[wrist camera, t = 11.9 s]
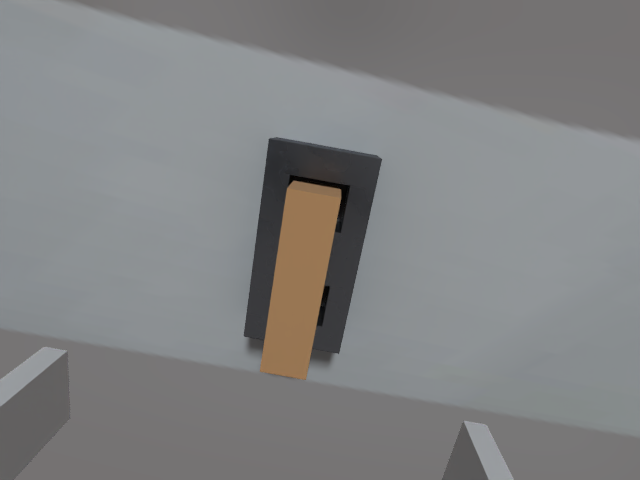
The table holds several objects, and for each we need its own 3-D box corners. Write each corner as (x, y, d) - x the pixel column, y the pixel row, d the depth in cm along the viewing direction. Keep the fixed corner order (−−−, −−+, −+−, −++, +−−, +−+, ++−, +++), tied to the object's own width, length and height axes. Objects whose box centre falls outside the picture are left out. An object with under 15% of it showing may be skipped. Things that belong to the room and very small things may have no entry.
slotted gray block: (339, 331, 34) (338, 353, 30) (253, 315, 34) (243, 336, 30) (377, 155, 29) (381, 159, 26) (277, 137, 29) (269, 138, 26)
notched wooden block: (315, 307, 33) (305, 380, 24) (282, 301, 33) (259, 371, 24) (340, 175, 30) (341, 197, 20) (303, 168, 30) (287, 188, 20)
